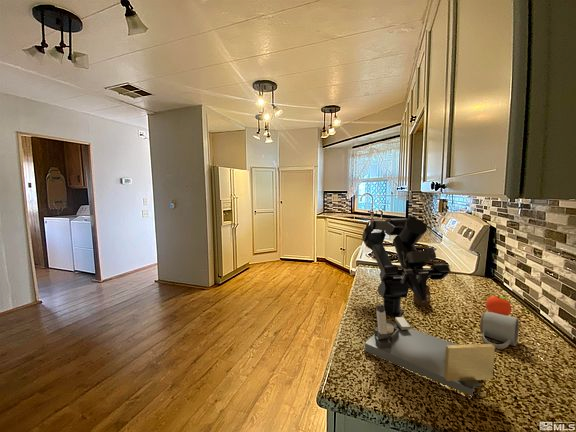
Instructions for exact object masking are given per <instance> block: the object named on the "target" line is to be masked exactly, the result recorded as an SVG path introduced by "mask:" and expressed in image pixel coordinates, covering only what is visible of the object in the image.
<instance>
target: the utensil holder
mask: <svg viewBox="0 0 576 432" xmlns="http://www.w3.org/2000/svg"><path fill="white" fill-rule="evenodd" d="M430 290H431V287H430V285H428V284H426V300H425V301H424V302H422V301H421V300H420V299H419V298H418V297H417V296H416V295H415V294H414V293H413V292H412V293H413V294H412V300H413V303H414V304H415V305H417V306H421V307H428V306H430V304H431V291H430Z"/></svg>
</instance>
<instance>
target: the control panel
mask: <svg viewBox="0 0 576 432" xmlns="http://www.w3.org/2000/svg"><path fill="white" fill-rule="evenodd" d="M386 323H388V324H391V325H393V327H394V333H393V334H392V335H389V336H390V339H389V340H379V339H378V336H377V333H379V332H378V326H377V327H376V328H375V329H374V333H373V334H372V335H371V337H369V338H368V340H367V341H366V342H365V343H364V352H365V351H367V352H369V353H371V354H374V355H376V356H378V357H381V358H383V359H385V360H387V361H390V362H392V363H394V364H397V365H399V366H401V367H404V368H406V369H408V370H410V371H413V372H415V373H418V374H420V375H423V376H426V377H427V378H430V379H432V380H435V381H437V382H439V383H442V384H444V385H447V386H449V387H452V388H454V389H456V390H459V391H461V392H463V393H466V394H468V395H471V396H473V397H474V394H473V392H474V393H475V390H474V388H475V389H476V386H473V387H466V386H465V385H464V384H463V383H462V382H461V381H447V380H446V379H445V378H444V370H445V352H446V345H458V343H455V342H451V341H449V340H445V339H443V338H440V337H436V336H433V335H431V334H428V333H425V332H422V331H419V330H416V329H413V328H410V329H409V330H402V329H401V328H400V327H399V325H398V324H397V322H394V321H390V320H386ZM367 352H366V353H367ZM369 353H368V354H369ZM371 354H370V355H371ZM374 355H373V356H374ZM376 356H375V357H376ZM378 357H377V358H378ZM387 361H386V362H387Z"/></svg>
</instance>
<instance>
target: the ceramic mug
mask: <svg viewBox="0 0 576 432" xmlns="http://www.w3.org/2000/svg"><path fill="white" fill-rule="evenodd" d="M519 325H520V323H519V319H518V317H515V316H510V315H507V316H506V315H501V314H497V313H492V312H489V311H483V312H482V313H481V316H480V321H479V330H480V333H481V334H482V339H483V342H484V344H492V345H493V346H495V349H496V348H497V349H498V350H503V349H507V347H509V345H510V346H514V347H516V346H517V345H518V339H519V333H520V332H519V328H520V327H519ZM485 336H486V337H487V338H489V339H490V338H491V339H493V340H496V341H499V342H502V344H501V343H499V344H496V343H493V342H490V341H489V340H488V339H486V337H485ZM497 349H496V350H497Z"/></svg>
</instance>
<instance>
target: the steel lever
mask: <svg viewBox="0 0 576 432" xmlns="http://www.w3.org/2000/svg"><path fill="white" fill-rule="evenodd" d="M375 309H376V310H375V311H376V321H377V327H378V332H379V333H377V336H378V339H379V340H389V339H390V336H389V333H388V332H387V323H386V322H387V316H386V315H387V314H385V308H384V306H383V304H377V305H376V308H375Z"/></svg>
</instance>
